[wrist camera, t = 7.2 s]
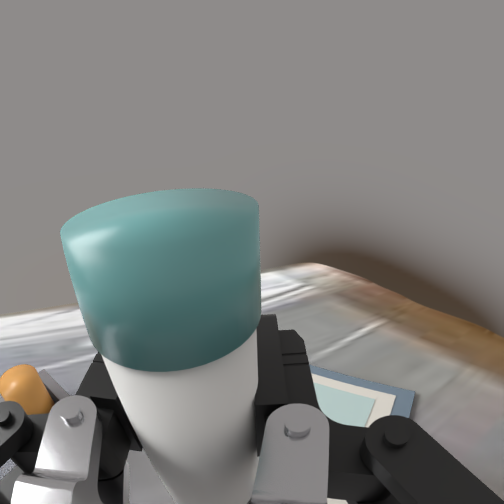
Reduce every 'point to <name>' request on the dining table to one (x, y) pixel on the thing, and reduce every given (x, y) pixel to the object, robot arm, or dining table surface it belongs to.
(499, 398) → the dining table surface
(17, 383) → the button
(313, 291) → the dining table surface
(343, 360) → the dining table surface
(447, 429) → the dining table surface
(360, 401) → the placemat
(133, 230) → the marker
